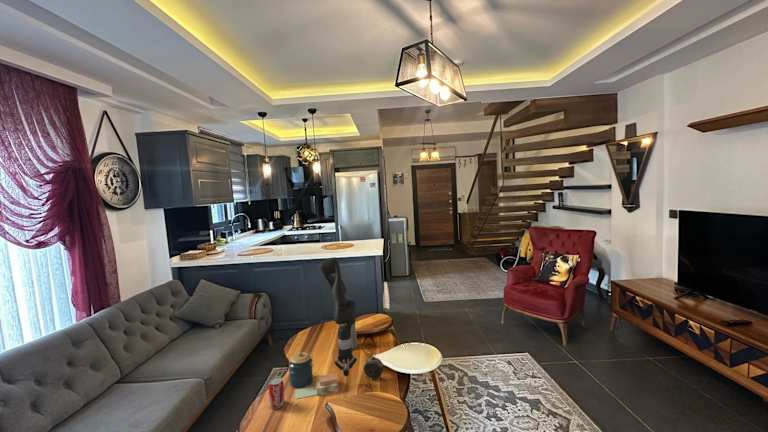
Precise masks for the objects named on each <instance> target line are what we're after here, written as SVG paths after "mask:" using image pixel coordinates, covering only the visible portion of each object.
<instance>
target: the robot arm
mask: <svg viewBox="0 0 768 432" xmlns="http://www.w3.org/2000/svg"><path fill="white" fill-rule="evenodd" d="M319 269H320V272H321V274H322V275H323V277H324V279H325V280H326V282H327V284H328V286H329V289H330V291H331V298H332V301H333V302H332V303H333V307H334V309H333V310H334V313H333V319H334V320H333V321H334V322H335V324H337V325H341V326H339V327H338V328H337V339H338V340H337V351H338V355H337V359H336V360H334V361H333V363H334V365H335V366H336V367H337V368H338V369H339V370H340V371H342V375H343V376H344V377H348V376H350V374H349V373H350V371H349V370H350V369H352V368H353V367H354V365H355V363H356V362H357V360H358V359H357V357H356V356H354V354H353V350H355V349H357V348H358V343H357V342H358V341H357V331H356V312H357V311H356V309H357V307H356V301H355V299H346V293H347V288H346V284H345V282H344V281H343V278H342V273H341V271H342V270H341V267H340V262H339V260H338V258H337V257H333V256H332V257H331V258H328V259H325V260H322V261H320V263H319ZM334 274H335V276H334Z"/></svg>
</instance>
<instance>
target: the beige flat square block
mask: <svg viewBox="0 0 768 432" xmlns="http://www.w3.org/2000/svg"><path fill="white" fill-rule="evenodd" d="M314 379H315V381H314V382H315V386H316V391H317V395H316V396H318V397H319V396H324V395H329V394H333V393H338V392H339V384H338V382H337V383H332V384H327V385H322V386H320V381H319V377H316V378H314Z"/></svg>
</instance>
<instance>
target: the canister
mask: <svg viewBox="0 0 768 432" xmlns="http://www.w3.org/2000/svg"><path fill="white" fill-rule="evenodd" d="M312 362H313V358H312V356H311V354H310V353H308V352H305V351H302V350H301V351H298V352H296V353H294V354H293V355H292V356H291V357H290V358H289V361H288V366H289V368H288V372H289V374H288V375H289V384H290V385H289V386H291V387H292V388H294V389H295V388H296V389H302V388H307V387H309V385H311V383H312V382H313V380H314V375H313V363H312Z"/></svg>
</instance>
